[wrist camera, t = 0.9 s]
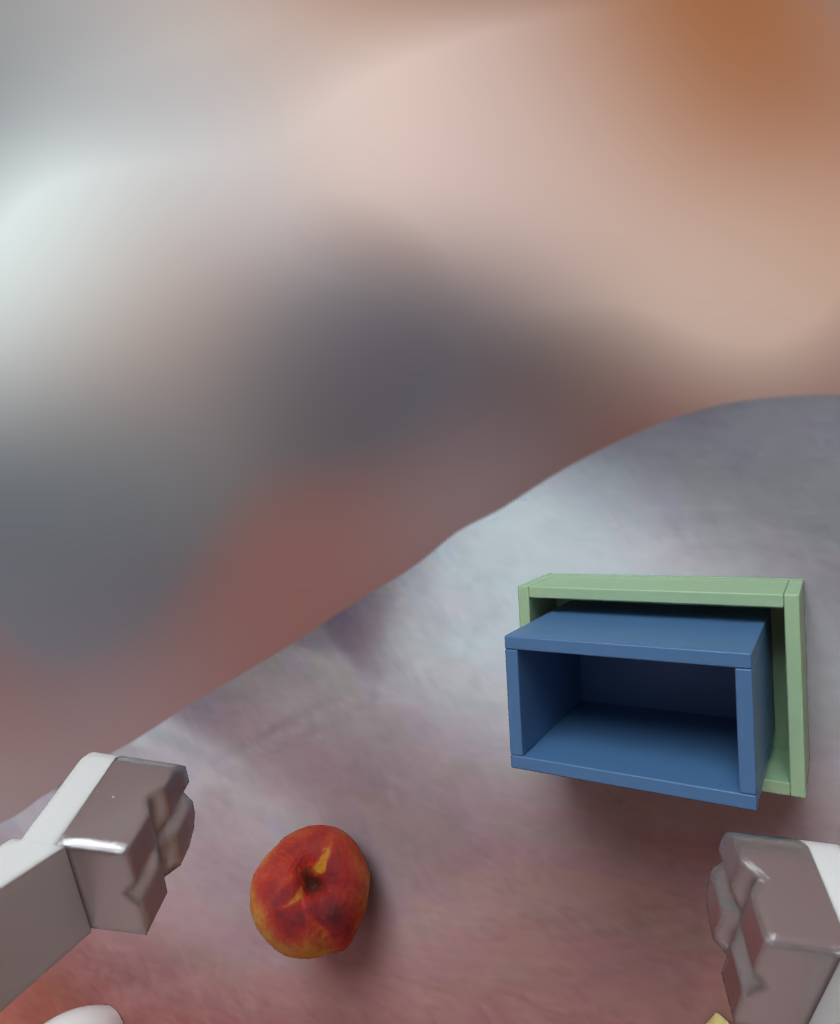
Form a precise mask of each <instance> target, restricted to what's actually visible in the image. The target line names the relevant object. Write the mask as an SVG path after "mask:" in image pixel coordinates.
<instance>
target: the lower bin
mask: <svg viewBox="0 0 840 1024" xmlns="http://www.w3.org/2000/svg"><path fill="white" fill-rule="evenodd" d="M518 597H519V617H520V628H521V627H523V626H524V625H526V624H528V623H530V622H532V621H534V620H536V619H537V618H539V617H541V616H543V615H545V614H547V613H549V612H550V611H552V610H554V609H556V608H558V607H560V606H562V605H563V604H565V603H567V602H569V601H571V600H572V601H596V602H620V603H644V604H668V605H692V606H716V607H740V608H764V609H771V624H772V653H773V682H774V711H775V733H774V737H773V742H772V746H771V751H770V755H769V760H768V764H767V769H766V773H765V777H764V782H763V786H762V791H763V792H769V793H775V794H782V795H788V796H790V795H791V796H794V797H800V798H806V793H807V782H808V770H809V759H810V755H809V725H808V694H807V663H806V632H805V602H804V580H803V579H793V578H745V577H698V576H650V575H602V574H555V573H550V574H547V575H544V576H542V577H539V578H537V579H534V580H532V581H529V582H527V583H525V584H522V585H520V586H518Z"/></svg>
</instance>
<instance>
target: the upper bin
mask: <svg viewBox="0 0 840 1024" xmlns="http://www.w3.org/2000/svg"><path fill="white" fill-rule="evenodd" d="M505 648H506V650H505V653H506V672H507V691H508V710H509V730H510V749H511V766H512V767H513V768H519V769H524V770H530V771H535V772H541V773H547V774H552V775H558V776H563V777H569V778H575V779H580V780H586V781H591V782H597V783H603V784H608V785H614V786H619V787H625V788H631V789H636V790H642V791H648V792H653V793H659V794H664V795H670V796H676V797H681V798H687V799H692V800H698V801H704V802H709V803H715V804H720V805H726V806H732V807H737V808H743V809H748V810H754V811H757V809H758V804H759V800H760V795H761V791H762V786H763V782H764V777H765V773H766V769H767V764H768V760H769V755H770V751H771V746H772V742H773V737H774V733H775V711H774V682H773V653H772V624H771V609H764V608H740V607H716V606H692V605H668V604H644V603H620V602H596V601H572V600H571V601H569V602H567V603H565V604H563V605H562V606H560V607H558V608H556V609H554V610H552V611H550V612H549V613H547V614H545V615H543V616H541V617H539V618H537V619H536V620H534V621H532V622H530V623H528V624H526V625H524V626H523V627H521V628H519V629H517V630H515V631H513V632H511V633H510V634H508V635H506V636H505Z"/></svg>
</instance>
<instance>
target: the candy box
mask: <svg viewBox="0 0 840 1024" xmlns="http://www.w3.org/2000/svg"><path fill="white" fill-rule="evenodd" d="M706 1024H730V1023H729V1022H728V1021H726V1020H725V1019H724V1018H723V1017H722V1016H721V1015H720V1014H718V1013H715V1014H714V1015H713V1016H712V1018H711V1019H710V1020H709V1021H708V1022H707V1023H706Z"/></svg>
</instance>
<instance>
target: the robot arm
mask: <svg viewBox="0 0 840 1024" xmlns="http://www.w3.org/2000/svg"><path fill="white" fill-rule="evenodd" d="M188 783H189V779H188V774H187V770H186V766H182V765H177V764H171V763H164V762H158V761H151V760H145V759H138V758H132V757H125V756H117V755H110V754H102V753H95V752H91V753H89V754H88V755H86V756H85V757H83V758H82V759H81V760H80V761H79V762H78V764H77V765H76V766H75V768H74V769H73V771H72V772H71V773H70V774H69V776H68V777H67V778H66V780H65V781H64V783H63V784H62V785H61V787H60V788H59V789H58V791H57V792H56V793H55V795H54V796H53V797H52V799H51V800H50V801H49V803H48V804H47V805H46V807H45V808H44V809H43V811H42V812H41V813H40V815H39V816H38V817H37V819H36V820H35V821H34V823H33V824H32V825H31V827H30V828H29V829H28V831H27V832H26V833H25V835H24V836H23V837H22V839H21V840H19V839H10V840H9V841H7V842H5V843H4V844H2V845H0V1012H1V1011H2V1010H3V1009H4V1008H5V1007H6V1006H8V1005H9V1004H10V1003H11V1002H12V1001H13V1000H14V999H16V998H17V997H18V996H19V995H20V994H21V993H22V992H24V991H25V990H26V989H27V988H28V987H29V986H30V985H31V984H33V983H34V982H35V981H36V980H37V979H38V978H39V977H41V976H42V975H43V974H44V973H45V972H46V971H47V970H49V969H50V968H51V967H52V966H53V965H54V964H55V963H56V962H58V961H59V960H60V959H61V958H62V957H63V956H64V955H66V954H67V953H68V952H69V951H70V950H71V949H72V948H73V947H75V946H76V945H77V944H78V943H79V942H80V941H81V940H83V939H84V938H85V937H86V936H87V935H88V934H89V933H91V928H94V929H102V930H111V931H119V932H127V933H136V934H144V935H146V934H147V932H148V930H149V928H150V926H151V924H152V922H153V920H154V918H155V916H156V914H157V912H158V910H159V908H160V906H161V904H162V902H163V900H164V898H165V896H166V894H167V888H166V883H165V878H164V877H165V876H166V875H168V874H169V873H170V872H172V871H173V870H174V869H176V868H177V867H178V866H180V865H181V863H182V861H183V859H184V857H185V854H186V852H187V850H188V848H189V845H190V841H191V837H192V833H193V829H194V818H195V812H194V806H193V801H192V800H191V799H190V798H189V797H188V796H187V795H186V794H185V793H184V790H185V788H186V786H187V785H188ZM719 852H720V855H721V859H722V863H721V864H719V865H717V866H716V867H714V868H713V869H712V870H711V874H710V878H709V881H708V887H707V909H708V917H709V923H710V928H711V932H712V937H713V940H714V941H715V942H716V943H717V945H718V946H719V947H720V948H721V949H722V950H723V951H724V953H725V954H726V955H727V958H726V960H725V963H724V966H723V969H722V972H721V974H722V978H723V982H724V986H725V990H726V993H727V997H728V1001H729V1005H730V1009H731V1013H732V1017H733V1021H734V1024H840V845H836V844H828V843H820V842H812V841H804V840H801V841H799V840H798V839H792V838H783V837H774V836H765V835H756V834H747V833H738V832H729V831H728V832H727V833H726V834H725V835H724V836H723V837H722V840H721V843H720V846H719Z"/></svg>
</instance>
